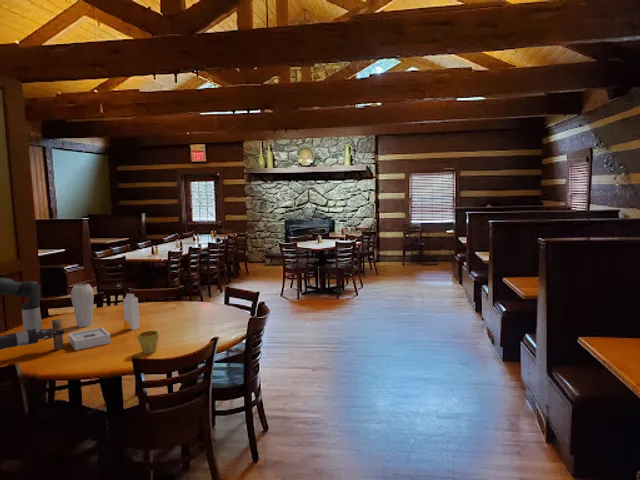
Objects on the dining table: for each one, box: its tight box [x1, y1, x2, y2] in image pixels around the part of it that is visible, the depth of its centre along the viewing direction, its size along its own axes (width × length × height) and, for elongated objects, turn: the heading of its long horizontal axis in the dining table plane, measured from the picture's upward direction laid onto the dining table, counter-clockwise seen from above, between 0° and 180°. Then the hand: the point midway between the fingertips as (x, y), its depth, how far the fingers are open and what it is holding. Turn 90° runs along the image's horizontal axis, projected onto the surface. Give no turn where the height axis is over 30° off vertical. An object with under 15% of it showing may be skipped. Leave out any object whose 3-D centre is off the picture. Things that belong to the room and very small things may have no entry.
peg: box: [51, 318, 65, 351], centre depth 257 cm, size 4×4×16 cm
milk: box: [122, 293, 141, 331], centre depth 291 cm, size 6×6×22 cm
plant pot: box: [137, 330, 160, 354], centre depth 249 cm, size 10×10×10 cm
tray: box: [67, 327, 112, 351], centre depth 267 cm, size 18×18×5 cm
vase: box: [70, 283, 95, 328], centre depth 301 cm, size 13×13×26 cm
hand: (63, 330), depth 258 cm, fingers closed on peg, 4 cm apart
